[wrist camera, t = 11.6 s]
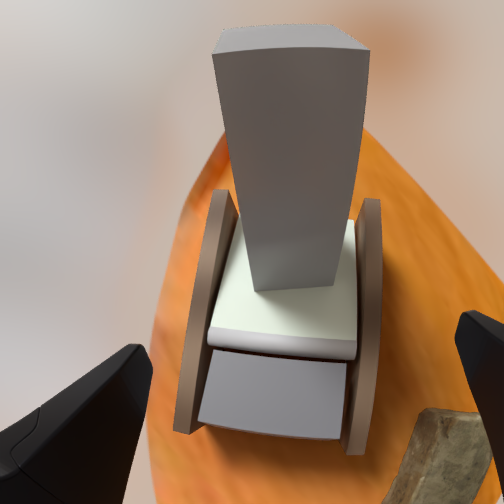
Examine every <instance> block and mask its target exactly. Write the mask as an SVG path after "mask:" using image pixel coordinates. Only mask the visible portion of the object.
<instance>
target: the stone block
mask: <svg viewBox="0 0 504 504" xmlns="http://www.w3.org/2000/svg"><path fill="white" fill-rule="evenodd" d="M492 457H493V454H492V450H491V447H490V444H489V440H488V437H487V434H486V431H485V428H484V425H483V422H482V419H481V416H480V414H479V413H478V412H472V413H468V412H459V411H453V410H447V409H437V408H427V409H425V410H424V411H423V412H421V413H420V414H419V417H418V420H417V423H416V425H415V427H414V431H413V434H412V437H411V439H410V442H409V445H408V448H407V451H406V453H405V455H404V457H403V460H402V463H401V466H400V469H399V472H398V475H397V476H396V478H395V479H394V480H393V483H392V486H391V488H390V490H389V492H388V494H387V495H386V497H385V498H384V500H383V501H382V503H381V504H472V502H473V501H474V499H475V497H476V495H477V493H478V491H479V489H480V486H481V484H482V482H483V480H484V478H485V475H486V473H487V470H488V468H489V465H490V463H491V460H492Z"/></svg>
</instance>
